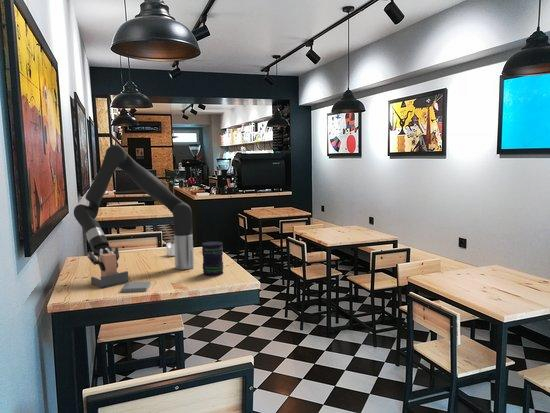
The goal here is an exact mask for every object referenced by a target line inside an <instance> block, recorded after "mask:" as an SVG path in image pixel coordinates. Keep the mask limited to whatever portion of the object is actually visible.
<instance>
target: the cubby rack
mask: <svg viewBox="0 0 550 413" xmlns="http://www.w3.org/2000/svg"><path fill="white" fill-rule="evenodd" d="M127 282H129V271H122V272H121V271H120V272H118V271H117V273H116V274H111V275H106V276H101V275H100V278H97V277H95V276H90V284H91V285H93V286H96V287H98V288H101V289H105V288H109V287H114V286H119V285H122V284H124V285H125V284H126V283H127Z"/></svg>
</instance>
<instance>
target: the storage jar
mask: <svg viewBox="0 0 550 413" xmlns="http://www.w3.org/2000/svg"><path fill="white" fill-rule="evenodd" d="M201 244H202V249H201V252H202V255H201V256H202V272H203V273H202V275H203V276H205V277H217V276H222V275H224V262H223V254H224V251H223V250H224V248H223V242H222V241H216V240H215V241H204V242H202V243H201Z"/></svg>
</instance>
